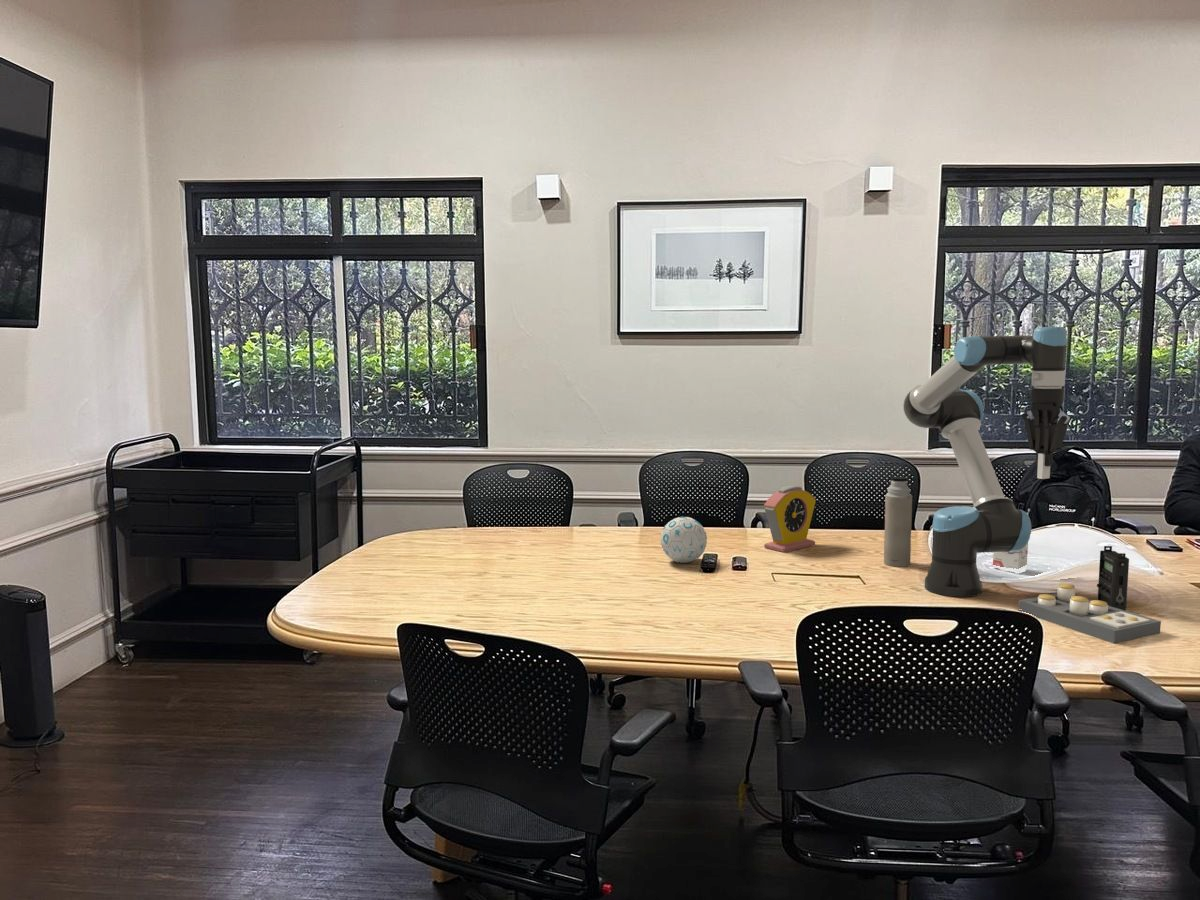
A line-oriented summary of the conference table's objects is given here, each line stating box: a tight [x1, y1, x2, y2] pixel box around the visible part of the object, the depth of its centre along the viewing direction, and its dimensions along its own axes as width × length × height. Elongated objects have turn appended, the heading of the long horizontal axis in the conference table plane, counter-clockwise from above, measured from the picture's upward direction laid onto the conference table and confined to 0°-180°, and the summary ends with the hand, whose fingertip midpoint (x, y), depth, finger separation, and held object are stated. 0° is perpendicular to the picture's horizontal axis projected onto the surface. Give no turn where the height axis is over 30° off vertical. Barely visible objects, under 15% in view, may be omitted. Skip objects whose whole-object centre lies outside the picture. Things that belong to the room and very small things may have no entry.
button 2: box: [1056, 582, 1076, 603], centre depth 213 cm, size 4×4×4 cm
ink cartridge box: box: [992, 542, 1029, 569], centre depth 252 cm, size 9×5×15 cm, turn 32°
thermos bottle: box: [883, 476, 913, 568], centre depth 261 cm, size 8×8×28 cm
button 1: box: [1037, 593, 1056, 607], centre depth 210 cm, size 4×4×4 cm
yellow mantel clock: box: [763, 485, 817, 553], centre depth 286 cm, size 22×9×22 cm, turn 127°
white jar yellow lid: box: [1069, 595, 1089, 617], centre depth 202 cm, size 4×4×4 cm
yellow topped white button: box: [1089, 599, 1108, 613], centre depth 205 cm, size 4×4×4 cm
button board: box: [1018, 593, 1162, 644], centre depth 204 cm, size 26×16×4 cm, turn 22°
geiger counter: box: [1096, 545, 1130, 611], centre depth 217 cm, size 10×4×15 cm, turn 170°
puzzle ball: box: [660, 516, 708, 564], centre depth 268 cm, size 15×15×15 cm
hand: (1043, 478), depth 213 cm, fingers closed
